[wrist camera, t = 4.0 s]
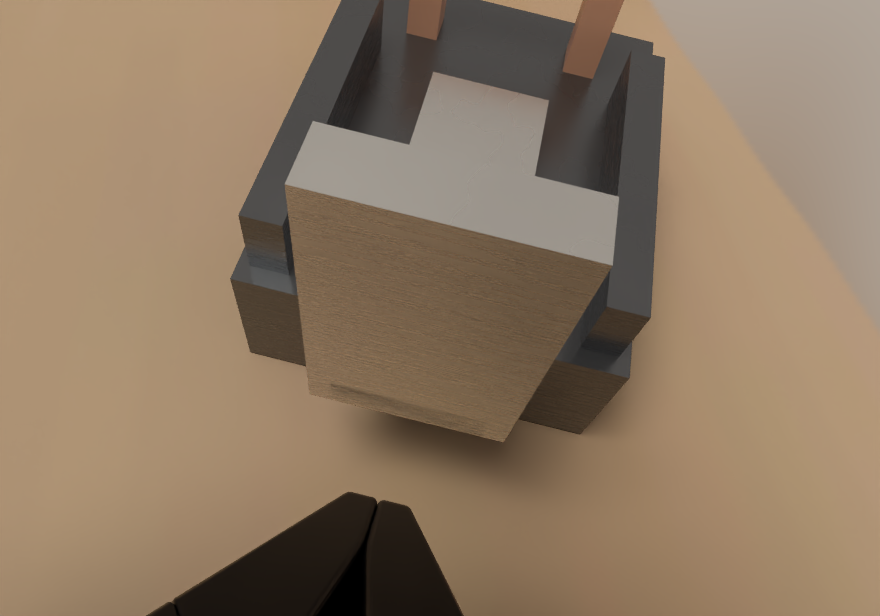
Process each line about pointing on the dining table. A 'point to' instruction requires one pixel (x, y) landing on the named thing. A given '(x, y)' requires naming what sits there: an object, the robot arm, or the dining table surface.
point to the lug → (583, 45)
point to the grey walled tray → (560, 159)
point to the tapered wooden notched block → (442, 260)
